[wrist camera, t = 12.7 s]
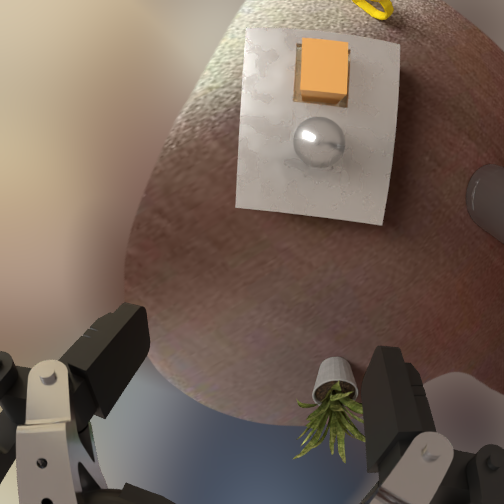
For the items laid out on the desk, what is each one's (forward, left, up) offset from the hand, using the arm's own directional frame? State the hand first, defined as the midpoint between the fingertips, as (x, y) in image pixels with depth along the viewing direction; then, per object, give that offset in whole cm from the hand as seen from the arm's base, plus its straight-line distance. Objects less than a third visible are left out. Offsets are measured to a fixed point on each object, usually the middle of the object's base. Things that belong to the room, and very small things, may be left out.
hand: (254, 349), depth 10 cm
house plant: (-10, +30, -31) cm, 44 cm away
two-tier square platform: (-2, -8, -31) cm, 32 cm away
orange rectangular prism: (-2, -13, -29) cm, 32 cm away
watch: (-7, -25, -31) cm, 40 cm away
